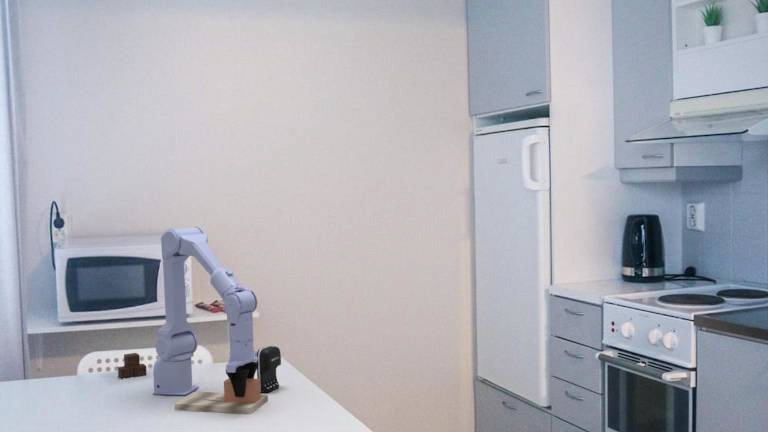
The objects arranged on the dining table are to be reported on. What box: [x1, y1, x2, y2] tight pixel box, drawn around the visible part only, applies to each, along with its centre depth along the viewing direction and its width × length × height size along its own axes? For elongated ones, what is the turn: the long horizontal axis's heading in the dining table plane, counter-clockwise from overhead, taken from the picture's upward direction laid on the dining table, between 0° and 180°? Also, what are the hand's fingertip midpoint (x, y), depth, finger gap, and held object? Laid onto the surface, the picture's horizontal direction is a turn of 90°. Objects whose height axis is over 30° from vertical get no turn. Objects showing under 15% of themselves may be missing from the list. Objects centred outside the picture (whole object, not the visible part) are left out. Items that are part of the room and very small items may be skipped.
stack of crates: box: [117, 352, 148, 380], centre depth 229 cm, size 15×15×7 cm
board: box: [173, 391, 269, 415], centre depth 197 cm, size 20×11×2 cm, turn 77°
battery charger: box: [256, 345, 282, 393], centre depth 210 cm, size 7×4×11 cm, turn 154°
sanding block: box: [223, 378, 261, 403], centre depth 196 cm, size 8×4×5 cm, turn 77°
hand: (243, 394), depth 196 cm, fingers closed on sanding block, 4 cm apart
